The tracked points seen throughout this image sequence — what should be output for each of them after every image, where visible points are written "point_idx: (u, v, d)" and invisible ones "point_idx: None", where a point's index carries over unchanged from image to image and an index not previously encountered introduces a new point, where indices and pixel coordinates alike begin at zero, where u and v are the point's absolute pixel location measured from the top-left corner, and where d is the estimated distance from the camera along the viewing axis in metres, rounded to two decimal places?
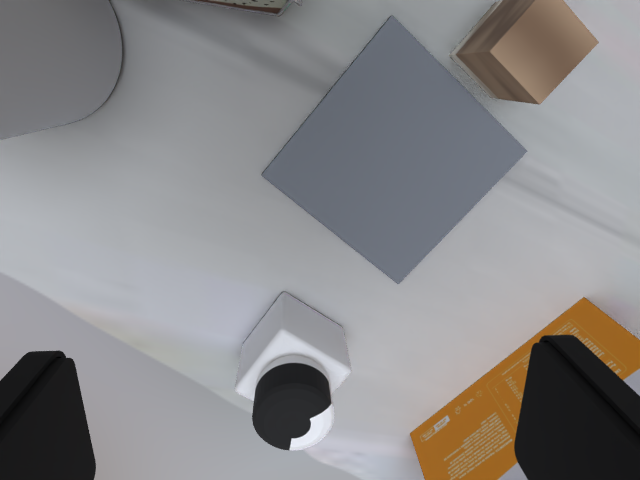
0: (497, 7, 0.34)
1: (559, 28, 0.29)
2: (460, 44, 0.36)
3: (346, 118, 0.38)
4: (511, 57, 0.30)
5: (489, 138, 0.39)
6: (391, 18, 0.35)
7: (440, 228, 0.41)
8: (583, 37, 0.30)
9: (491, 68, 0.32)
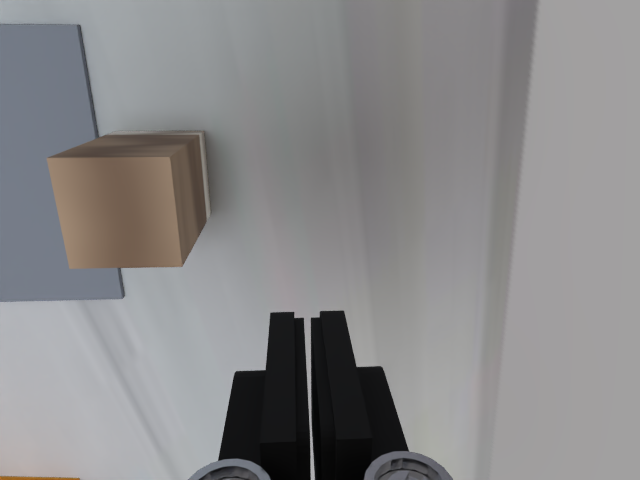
0: (184, 135, 0.25)
1: (148, 213, 0.20)
2: (131, 132, 0.26)
3: None
4: (69, 189, 0.20)
5: None
6: (73, 27, 0.24)
7: None
8: (169, 246, 0.21)
9: None
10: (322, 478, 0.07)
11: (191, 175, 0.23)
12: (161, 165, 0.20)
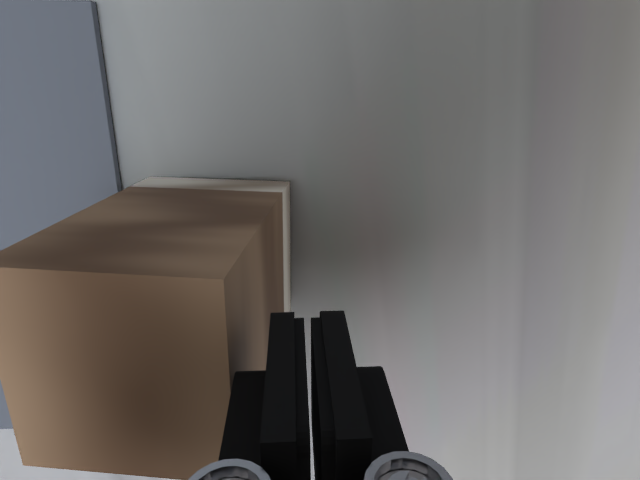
0: (257, 192, 0.14)
1: (173, 384, 0.10)
2: (172, 180, 0.16)
3: None
4: (17, 328, 0.09)
5: None
6: (84, 5, 0.14)
7: None
8: (212, 447, 0.10)
9: None
10: (322, 478, 0.07)
11: (265, 276, 0.13)
12: (203, 295, 0.09)
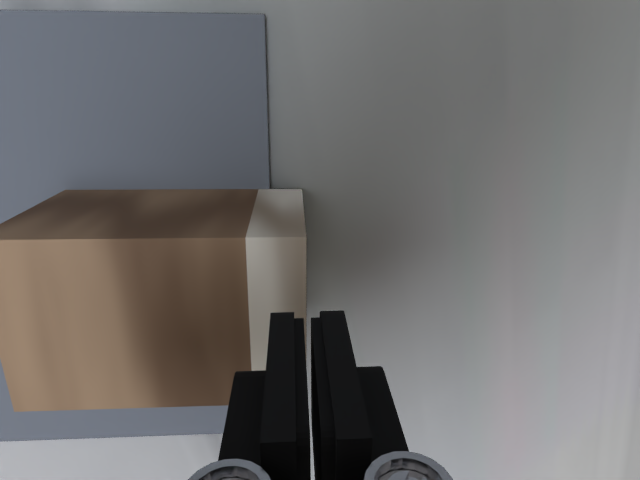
0: (238, 227, 0.12)
1: None
2: (287, 196, 0.15)
3: (11, 94, 0.15)
4: None
5: None
6: (258, 18, 0.14)
7: (37, 423, 0.19)
8: None
9: None
10: (322, 478, 0.07)
11: (135, 299, 0.12)
12: None
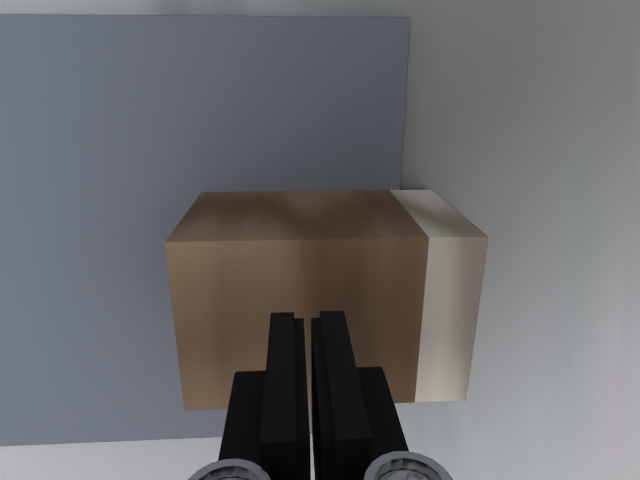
0: (412, 228, 0.12)
1: None
2: (425, 197, 0.15)
3: (158, 98, 0.15)
4: None
5: None
6: (404, 21, 0.15)
7: (153, 423, 0.19)
8: None
9: None
10: (322, 478, 0.07)
11: (315, 298, 0.12)
12: None
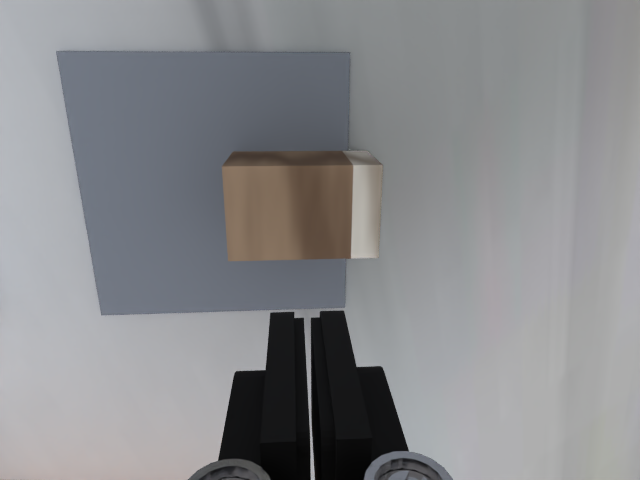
0: (346, 162, 0.24)
1: None
2: (361, 153, 0.27)
3: (210, 97, 0.26)
4: None
5: (324, 261, 0.30)
6: (346, 54, 0.26)
7: (199, 300, 0.31)
8: None
9: None
10: (322, 478, 0.07)
11: (297, 197, 0.24)
12: None
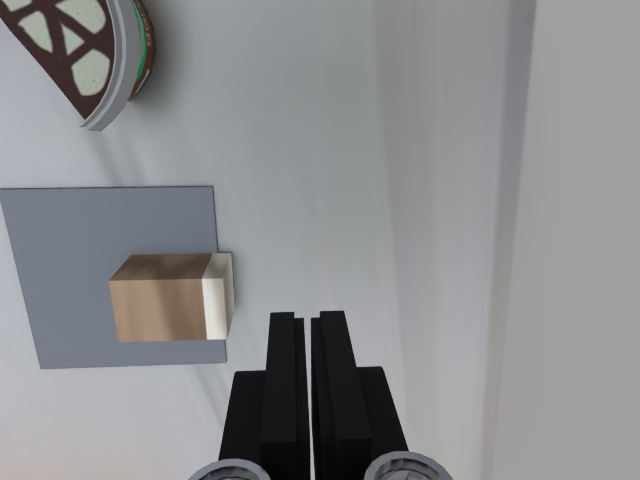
0: (200, 274, 0.34)
1: None
2: (223, 257, 0.37)
3: (111, 218, 0.36)
4: None
5: None
6: (209, 188, 0.36)
7: (113, 358, 0.41)
8: None
9: None
10: (322, 478, 0.07)
11: (163, 300, 0.34)
12: None
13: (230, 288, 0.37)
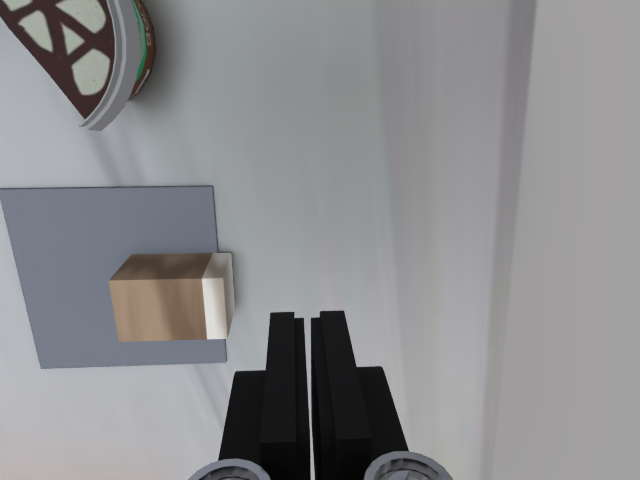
0: (200, 274, 0.34)
1: None
2: (223, 257, 0.37)
3: (111, 218, 0.36)
4: None
5: None
6: (209, 188, 0.36)
7: (114, 358, 0.41)
8: None
9: None
10: (322, 478, 0.07)
11: (163, 299, 0.34)
12: None
13: (230, 288, 0.37)
